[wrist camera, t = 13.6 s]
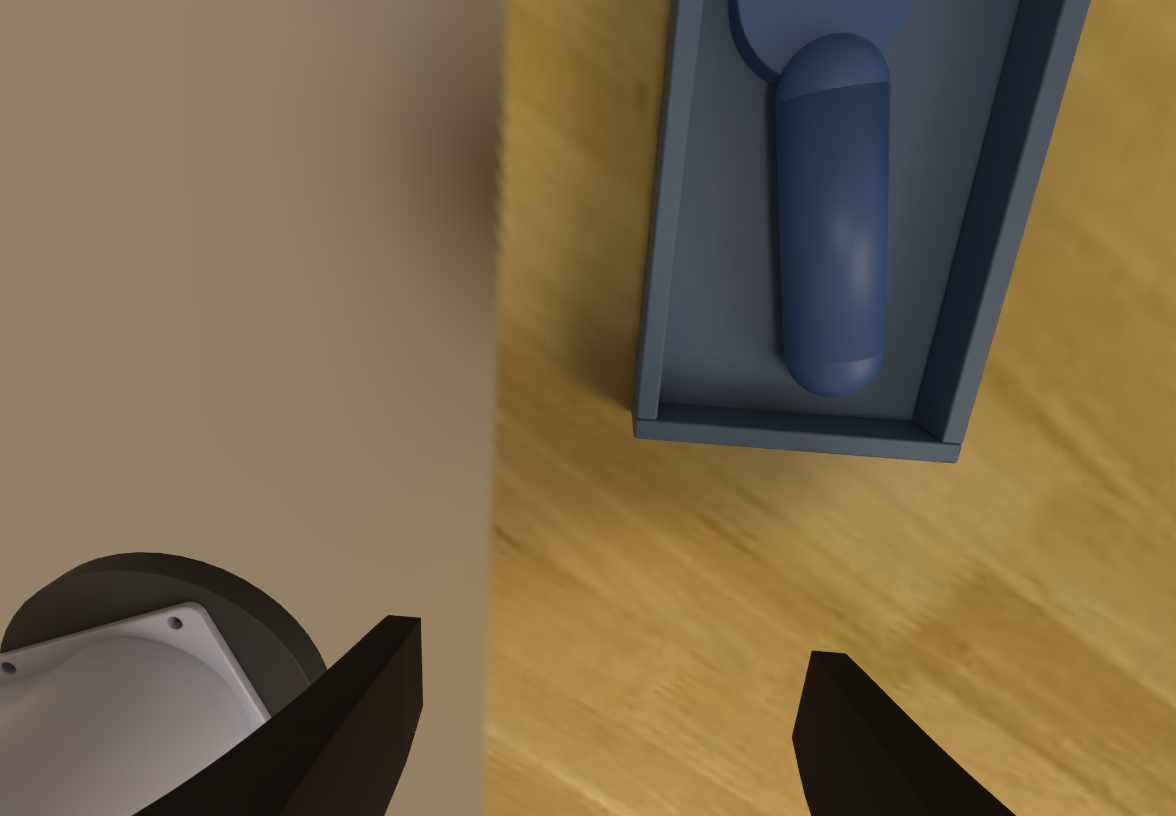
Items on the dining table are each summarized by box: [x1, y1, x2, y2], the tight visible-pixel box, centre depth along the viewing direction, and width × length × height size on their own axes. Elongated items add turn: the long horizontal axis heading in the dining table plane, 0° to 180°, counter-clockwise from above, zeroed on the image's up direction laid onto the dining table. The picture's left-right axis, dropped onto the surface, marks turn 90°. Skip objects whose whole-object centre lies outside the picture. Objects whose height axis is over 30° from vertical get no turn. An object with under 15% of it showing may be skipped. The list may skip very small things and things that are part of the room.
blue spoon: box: [729, 0, 913, 397], centre depth 15 cm, size 12×4×3 cm, turn 8°
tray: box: [632, 0, 1091, 463], centre depth 16 cm, size 15×9×2 cm, turn 176°
